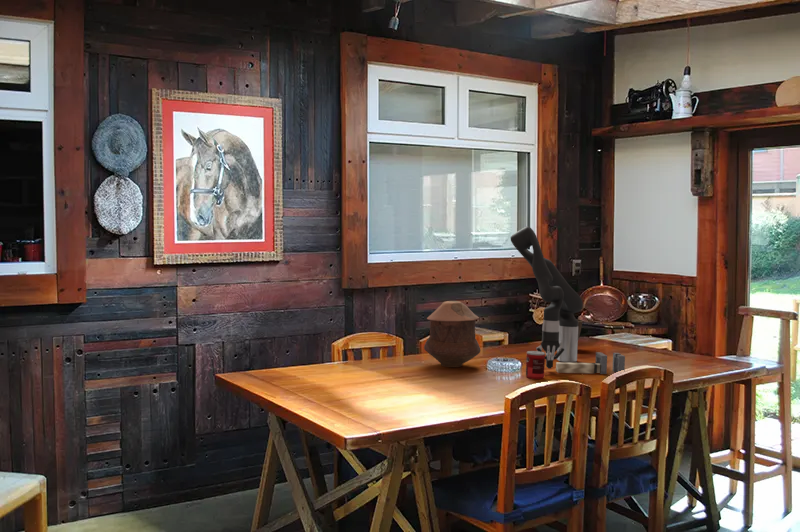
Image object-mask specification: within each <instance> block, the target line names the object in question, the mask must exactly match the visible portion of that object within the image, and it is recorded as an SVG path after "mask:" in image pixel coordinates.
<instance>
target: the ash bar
mask: <svg viewBox="0 0 800 532" xmlns="http://www.w3.org/2000/svg"><path fill="white" fill-rule="evenodd" d="M555 372H557V373H558V374H560V373H561V374H562V373H563V374H595V373H600V363H595V362H563V361H559V362H557V361H556V362H555Z"/></svg>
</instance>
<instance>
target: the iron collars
mask: <svg viewBox="0 0 800 532" xmlns="http://www.w3.org/2000/svg"><path fill="white" fill-rule="evenodd" d="M594 363H600V374H599V375H601V374H607V372H608V371H607V370H608V369H607V368H608V355H607V354H605V353H603V352H599V351H598V352H597V351H596V352H595V362H594ZM625 364H626V356H625V355H624V354H622V353H620V352H612V372H613V371H614V372H613V373H617V372H618V371H621V370H624V371H625V369H626V368H625Z"/></svg>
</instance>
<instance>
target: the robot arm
mask: <svg viewBox="0 0 800 532" xmlns="http://www.w3.org/2000/svg"><path fill="white" fill-rule="evenodd" d="M510 242H511V244H512V245H513V246H514V249H516V251H518V252H519V254H520V255H521V256H522V258H524V260H526V261H527V263H528V264H529V266H530V267H531V268H532V274H533V275H534V278H535V279H536V281H537V284H538V291H539V296H540V298H541V299H542V300H543V301H544V302H546V303H550V304H549V306H546V307H545V308H544V309H543V320H542V327H541V330H542V332H541V335H542V336H541V343H540V345H538V346H536V347H535V348H536V351H540V352H544V353H545V360H546V361H545V368H547V369H552V368H553V367H554V360H557V361H559V362H565V363H577V360H578V347H579V346H578V345H579V343H578V341H579V339H578V320H579V319H578V320H577V318H576V317H575V315H574V314H575V313H579V312H581V310H582V309H583V305H584V303H583V300H582V297H581V296H580V295H579V294H578V293H577V291H575V289H574V288H572V286H571V285H570V284H569V283H568V282H567V280H566V279H565V278H564V276H563V275H562V273H561V272H560V271H559V269H558V268H557V267H556V265H555V264H554V263H553V262H552V260H550V259H548V258H546V257H544V253H543V251H542V248H541V245H540V242H539V239H538V237H537V235H536V233H535V231H534V230H533V229H532V227H531V226H528V225H527V226H525V227H523V228H521V229H519V230H517V231H516V232H515V233H513V234H511V236H510ZM530 247H532V251H533V252H531V251H530V250H529V248H530Z"/></svg>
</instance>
